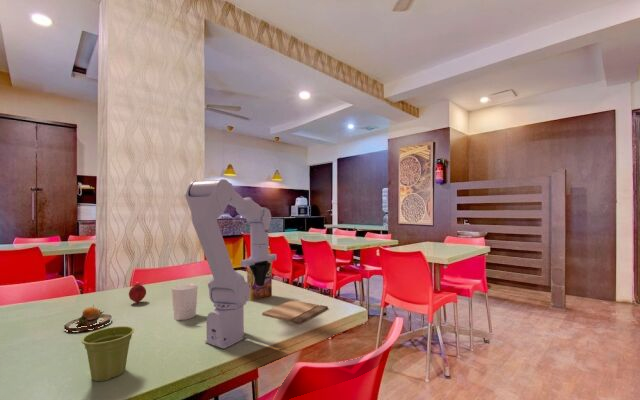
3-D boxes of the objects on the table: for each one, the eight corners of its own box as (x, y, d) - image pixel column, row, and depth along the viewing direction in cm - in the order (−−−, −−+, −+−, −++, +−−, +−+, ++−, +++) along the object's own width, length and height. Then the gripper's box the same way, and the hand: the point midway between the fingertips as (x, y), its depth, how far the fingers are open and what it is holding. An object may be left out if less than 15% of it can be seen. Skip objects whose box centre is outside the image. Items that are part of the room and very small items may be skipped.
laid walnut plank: (300, 326, 90) (300, 321, 90) (292, 324, 92) (292, 319, 92) (327, 310, 104) (327, 306, 104) (320, 309, 105) (320, 305, 105)
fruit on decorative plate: (108, 316, 104) (108, 294, 104) (115, 325, 95) (115, 301, 95) (62, 326, 95) (62, 303, 95) (66, 337, 87) (66, 311, 87)
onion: (149, 301, 119) (149, 281, 119) (133, 306, 114) (133, 284, 114) (141, 299, 122) (141, 279, 122) (125, 303, 117) (125, 282, 117)
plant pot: (101, 364, 71) (100, 326, 71) (142, 362, 71) (142, 324, 71) (70, 387, 61) (70, 344, 62) (118, 385, 62) (117, 342, 62)
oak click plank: (291, 324, 92) (291, 319, 92) (262, 317, 99) (262, 312, 99) (319, 309, 105) (318, 304, 105) (291, 304, 112) (291, 299, 112)
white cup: (201, 316, 101) (201, 286, 102) (177, 323, 96) (177, 291, 96) (191, 311, 107) (191, 282, 107) (168, 317, 101) (167, 287, 101)
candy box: (250, 303, 114) (250, 262, 114) (246, 300, 118) (246, 261, 118) (272, 299, 119) (271, 260, 119) (268, 296, 122) (267, 258, 123)
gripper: (265, 241, 108) (266, 279, 107) (234, 245, 96) (234, 289, 95) (280, 241, 104) (281, 281, 104) (249, 246, 92) (250, 291, 91)
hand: (260, 285), depth 99 cm, fingers closed
